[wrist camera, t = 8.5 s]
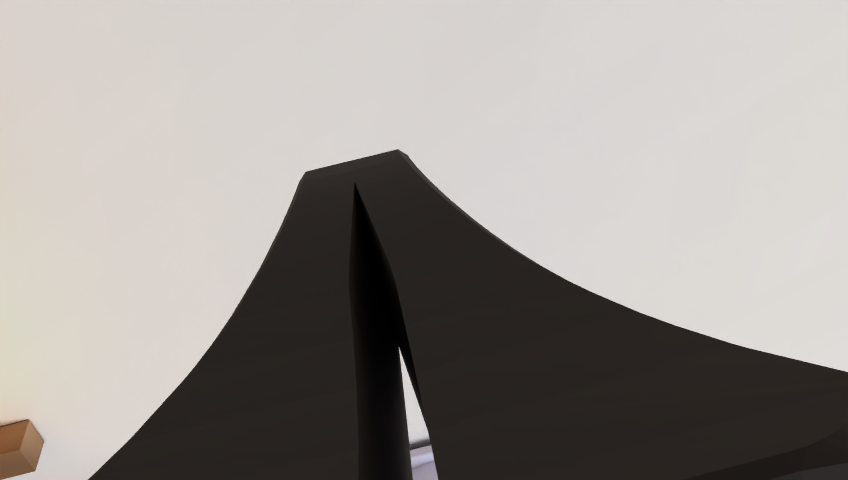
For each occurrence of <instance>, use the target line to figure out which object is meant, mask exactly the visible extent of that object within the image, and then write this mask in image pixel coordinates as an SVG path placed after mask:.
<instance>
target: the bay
mask: <svg viewBox="0 0 848 480" xmlns="http://www.w3.org/2000/svg"><path fill="white" fill-rule="evenodd" d="M43 444H44V440H43V438H42V437H41V435H40V434H39V433H38V431H37V430H36V428H35V427H34V426H33V424H32V423H31V421H30V420H27V421H23V422H19V423H15V424H11V425H7V426H3V427H0V480H2V479H6V478H10V477H14V476H18V475H21V474H25V473H29V472H33V471H35V470H36V467H37V463H38V460H39V457H40V453H41V450H42V447H43Z"/></svg>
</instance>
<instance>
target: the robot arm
mask: <svg viewBox="0 0 848 480" xmlns="http://www.w3.org/2000/svg"><path fill="white" fill-rule="evenodd" d="M399 348H400V351H401V354H402V356H403V359H404V362H405V365H406V368H407V371H408V374H409V377H410V380H411V383H412V386H413V389H414V392H415V394H416V397H417V400H418V403H419V406H420V409H421V412H422V415H423V418H424V421H425V424H426V426H427V429H428V433H429V438H430V442H431V445H429V446H425V447H421V448H417V449H414V450H410V447H409V438H408V428H407V419H406V409H405V400H404V390H403V381H402V372H401V363H400V354H399ZM88 480H848V372H845V371H841V370H837V369H832V368H828V367H824V366H820V365H816V364H812V363H808V362H803V361H799V360H795V359H791V358H787V357H783V356H778V355H774V354H770V353H766V352H762V351H758V350H754V349H749V348H745V347H742V346H738V345H735V344H731V343H728V342H725V341H722V340H719V339H715V338H712V337H709V336H706V335H703V334H700V333H697V332H693V331H690V330H687V329H684V328H681V327H678V326H675V325H672V324H669V323H667V322H664V321H661V320H658V319H656V318H653V317H650V316H647V315H645V314H642V313H639V312H637V311H634V310H632V309H630V308H627V307H625V306H623V305H620V304H618V303H616V302H613V301H611V300H609V299H606V298H604V297H602V296H599V295H597V294H595V293H592V292H590V291H588V290H586V289H584V288H582V287H580V286H578V285H575V284H573V283H571V282H569V281H567V280H565V279H564V278H562V277H560V276H558V275H556V274H555V273H553V272H551V271H549V270H547V269H546V268H544V267H542V266H540V265H539V264H537V263H536V262H534V261H532V260H531V259H529V258H527V257H526V256H524V255H523V254H521V253H520V252H518V251H517V250H515V249H514V248H512V247H511V246H509V245H508V244H506V243H505V242H504V241H502V240H501V239H499V238H498V237H496V236H495V235H494V234H492V233H491V232H489V231H488V230H487V229H485V228H484V227H483V226H482V225H480V224H479V223H478V222H476V221H475V220H474V219H473V218H471V217H470V216H469V215H468V214H467V213H465V212H464V211H463V210H462V209H461V208H459V207H458V206H457V205H456V204H455V203H453V202H452V201H451V200H450V199H449V198H448V197H447V196H445V195H444V194H443V193H442V192H441V191H440V190H439V189H438V188H437V187H436V186H435V185H434V184H433V183H432V182H431V181H430V180H429V179H428V178H427V177H426V176H425V175H424V174H423V173H422V172H421V171H420V170H419V169H418V168H417V167H416V165H415V164H414V163H413V162H412V161H411V159H410V158H409V156H408V155H406V154H405V153H403V152H401V151H400V150H398V149H397V150H393V151H389V152H385V153H381V154H377V155H373V156H369V157H364V158H360V159H356V160H352V161H348V162H344V163H340V164H336V165H331V166H327V167H323V168H319V169H315V170H311V171H307V172H305V174H304V175H303V177H302V178H301V180H300V182H299V184H298V187H297V190H296V192H295V195H294V197H293V200H292V202H291V204H290V207H289V209H288V212H287V214H286V216H285V218H284V220H283V223H282V225H281V227H280V229H279V231H278V233H277V235H276V237H275V239H274V241H273V243H272V245H271V247H270V249H269V251H268V253H267V255H266V257H265V259H264V261H263V263H262V265H261V267H260V269H259V271H258V272H257V274H256V276H255V278H254V279H253V281H252V283H251V284H250V286H249V288H248V289H247V291H246V293H245V294H244V296H243V298H242V299H241V301H240V303H239V304H238V306H237V308H236V309H235V311H234V313H233V314H232V316H231V317H230V319H229V320H228V322H227V323H226V325H225V326H224V328H223V329H222V331H221V332H220V334H219V335H218V337H217V338H216V339H215V341H214V342H213V344H212V345H211V346H210V348H209V349H208V350H207V352H206V353H205V354H204V355H203V357H202V358H201V359H200V361H199V362H198V363H197V365H196V366H195V367H194V368H193V370H192V371H191V372H190V373H189V374H188V376H187V377H186V378H185V379H184V380H183V382H182V383H181V384H180V385H179V386H178V387H177V388H176V389H175V390H174V391H173V393H172V394H171V395H170V396H169V397H168V398H167V399H166V400H165V401H164V402H163V404H162V405H161V406H160V407H159V408H158V409H157V410H156V411H155V412H154V414H153V415H152V416H151V417H150V418H149V419H148V420H147V421H146V422H145V423H144V425H143V426H142V427H141V428H140V429H139V430H138V431H137V432H136V433H135V434H134V436H133V437H132V438H131V439H130V440H129V441H128V442H127V443H126V444H125V445H124V446H123V447H122V448H121V449H120V450H118V451H117V452H116V453H115V454H114V455H113V456H112V457H111V458H110V459H109V460H108V461H107V462H106V463H105V464H104V465H103V466H102V467H101V468H100V469H99V470H98V471H97V472H96V473H95V474H94V475H93V476H92V477H90V478H89V479H88Z"/></svg>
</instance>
